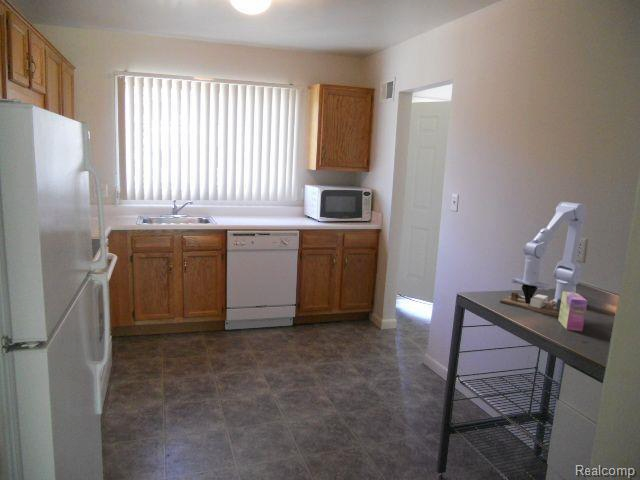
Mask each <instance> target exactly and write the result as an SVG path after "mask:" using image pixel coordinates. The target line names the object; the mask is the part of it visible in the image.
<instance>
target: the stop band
mask: <svg viewBox="0 0 640 480" xmlns="http://www.w3.org/2000/svg"><path fill="white" fill-rule="evenodd" d="M552 300H553V299H551V300H549V301H548V302H549V307H552V308H553V307H554V306H553V303H555V302H554V301H552Z"/></svg>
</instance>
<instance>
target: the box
mask: <svg viewBox="0 0 640 480" xmlns="http://www.w3.org/2000/svg"><path fill="white" fill-rule="evenodd" d="M587 305H588V300H587V299H586V297H585V298H584V296H582V295H581V294H580V293H579V292H576V293H575V292H564V291H563V292H562V299H561V305H560V312H559V317H558V319H557V320H558V322H559V323H560V324H561V325H562V326H563V328H565V331H566V330H567V331H575V332H576V331H577V332H583V330H584V325H585V323H584V322H585V317H586V312H587V307H588V306H587Z"/></svg>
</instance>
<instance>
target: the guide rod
mask: <svg viewBox="0 0 640 480" xmlns="http://www.w3.org/2000/svg"><path fill="white" fill-rule="evenodd" d="M517 298H521V299H525V296H524V295H520V294H518V295H517ZM549 302H550V301H548V300H547V301H544V302H543V304H548V305H549ZM553 306H556V307H557V303H555V302H554V303H553Z"/></svg>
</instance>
